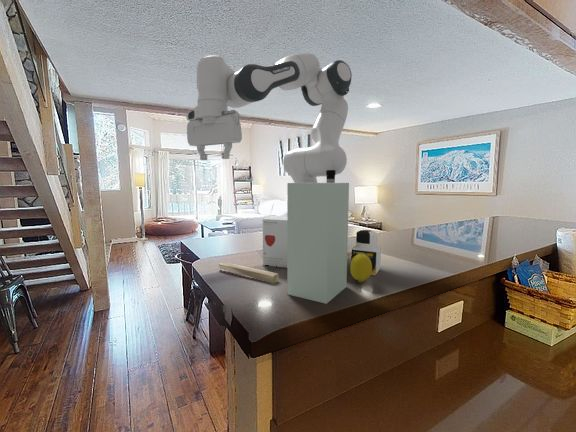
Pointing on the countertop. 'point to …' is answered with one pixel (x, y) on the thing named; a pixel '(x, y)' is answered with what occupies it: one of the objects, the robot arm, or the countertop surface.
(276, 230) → the supplement box
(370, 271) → the lemon
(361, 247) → the medicine bottle
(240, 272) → the birch bar
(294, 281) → the pedestal
